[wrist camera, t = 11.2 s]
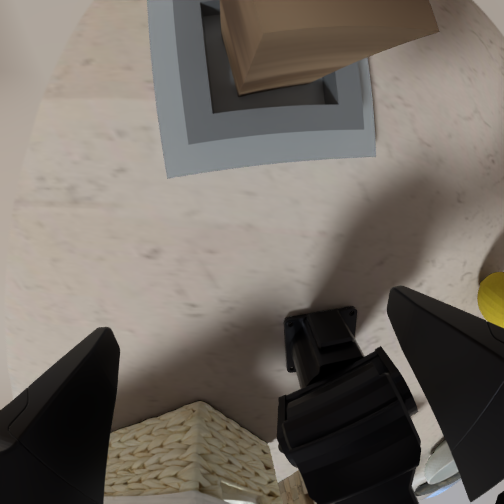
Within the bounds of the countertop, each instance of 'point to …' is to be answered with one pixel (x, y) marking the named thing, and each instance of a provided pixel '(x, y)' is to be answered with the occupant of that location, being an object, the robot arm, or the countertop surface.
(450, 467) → the cereal bowl
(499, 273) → the lemon
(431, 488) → the stone fish figurine
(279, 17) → the walnut column
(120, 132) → the countertop surface
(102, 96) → the countertop surface
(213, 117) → the base plate
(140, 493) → the storage basket
